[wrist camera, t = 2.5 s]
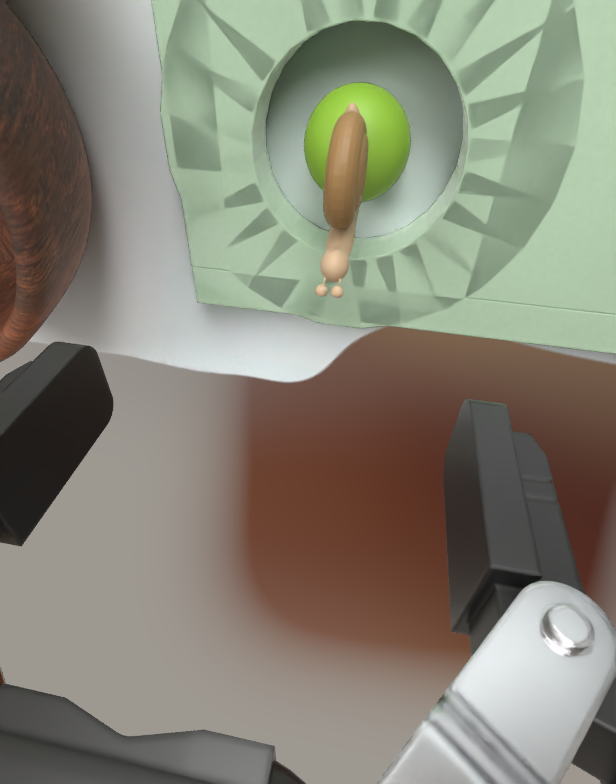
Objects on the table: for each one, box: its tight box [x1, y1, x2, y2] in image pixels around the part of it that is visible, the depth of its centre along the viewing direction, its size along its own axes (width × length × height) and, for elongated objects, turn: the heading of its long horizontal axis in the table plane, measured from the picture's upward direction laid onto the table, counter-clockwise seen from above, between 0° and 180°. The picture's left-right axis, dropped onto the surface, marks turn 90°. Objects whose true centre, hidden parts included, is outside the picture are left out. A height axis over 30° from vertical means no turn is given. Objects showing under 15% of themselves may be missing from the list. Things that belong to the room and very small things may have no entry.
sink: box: [151, 0, 616, 354], centre depth 24 cm, size 21×32×3 cm, turn 88°
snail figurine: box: [304, 82, 411, 298], centre depth 22 cm, size 5×6×12 cm
